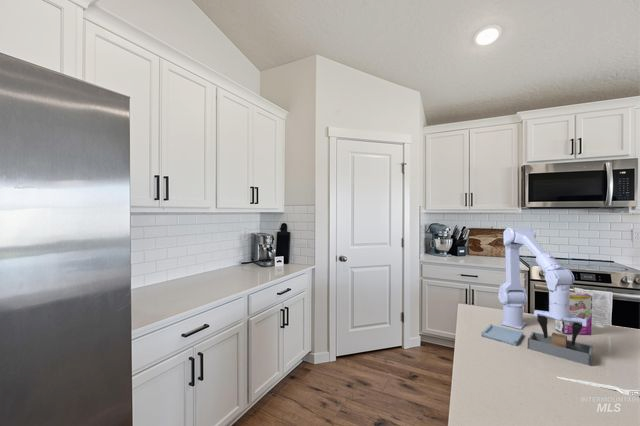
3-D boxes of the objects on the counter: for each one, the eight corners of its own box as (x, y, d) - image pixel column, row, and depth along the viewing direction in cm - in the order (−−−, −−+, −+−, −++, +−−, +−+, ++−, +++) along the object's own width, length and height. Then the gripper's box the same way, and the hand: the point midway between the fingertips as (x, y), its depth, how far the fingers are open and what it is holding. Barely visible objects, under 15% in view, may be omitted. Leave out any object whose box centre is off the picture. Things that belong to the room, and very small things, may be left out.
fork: (555, 377, 90) (555, 371, 90) (646, 394, 81) (646, 387, 81) (557, 382, 87) (557, 376, 87) (652, 401, 78) (652, 394, 78)
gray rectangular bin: (532, 340, 114) (532, 331, 114) (592, 356, 102) (592, 346, 102) (527, 348, 107) (527, 339, 107) (591, 365, 95) (591, 355, 95)
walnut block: (552, 348, 107) (552, 332, 107) (567, 352, 105) (567, 335, 105) (551, 352, 105) (551, 335, 105) (565, 356, 102) (565, 339, 102)
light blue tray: (490, 327, 127) (490, 324, 127) (523, 336, 118) (523, 332, 118) (481, 336, 118) (481, 332, 118) (516, 345, 110) (516, 341, 110)
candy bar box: (563, 334, 120) (563, 294, 120) (554, 329, 125) (554, 291, 125) (592, 335, 119) (592, 295, 118) (583, 330, 123) (583, 292, 123)
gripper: (532, 300, 107) (532, 337, 107) (585, 310, 97) (585, 351, 97) (535, 297, 112) (536, 332, 112) (587, 305, 102) (587, 344, 102)
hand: (559, 340), depth 105 cm, fingers open, 7 cm apart
